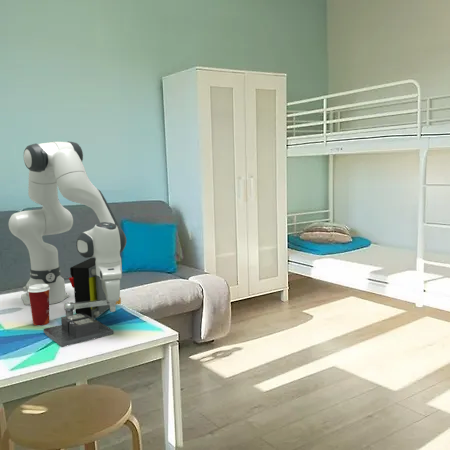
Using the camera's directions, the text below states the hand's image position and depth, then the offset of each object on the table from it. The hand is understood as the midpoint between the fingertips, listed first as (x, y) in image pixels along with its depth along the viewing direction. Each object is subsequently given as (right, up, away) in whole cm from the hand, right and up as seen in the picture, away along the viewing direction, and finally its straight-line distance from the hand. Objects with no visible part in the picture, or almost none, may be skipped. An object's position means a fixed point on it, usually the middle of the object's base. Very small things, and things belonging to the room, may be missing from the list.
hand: (111, 307), depth 178 cm
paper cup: (-28, -7, +8) cm, 30 cm away
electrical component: (-11, -5, +19) cm, 22 cm away
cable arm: (-7, 0, +4) cm, 8 cm away
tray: (-10, -8, -4) cm, 14 cm away
